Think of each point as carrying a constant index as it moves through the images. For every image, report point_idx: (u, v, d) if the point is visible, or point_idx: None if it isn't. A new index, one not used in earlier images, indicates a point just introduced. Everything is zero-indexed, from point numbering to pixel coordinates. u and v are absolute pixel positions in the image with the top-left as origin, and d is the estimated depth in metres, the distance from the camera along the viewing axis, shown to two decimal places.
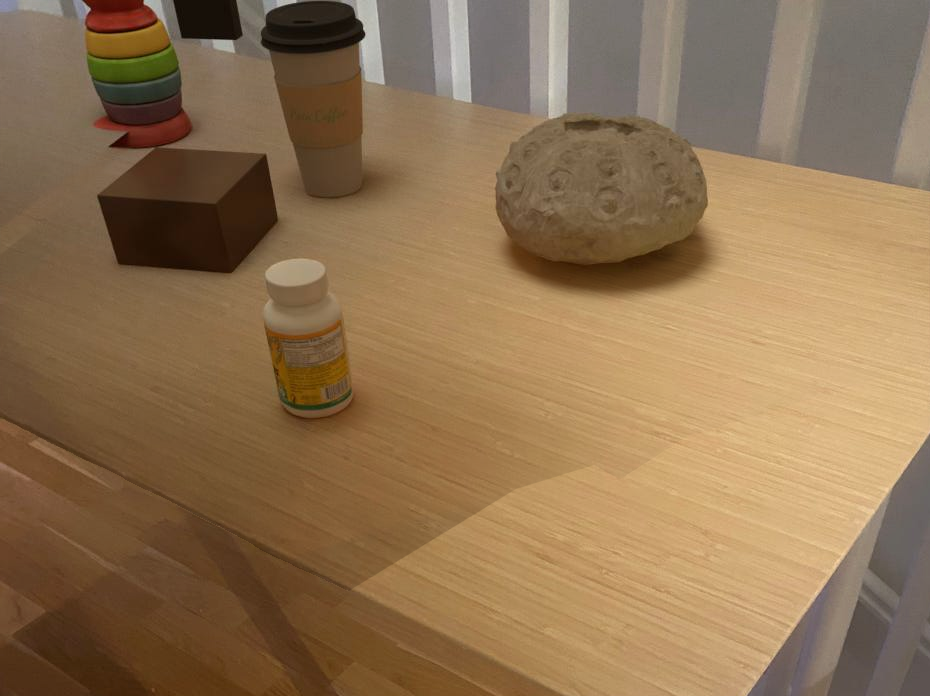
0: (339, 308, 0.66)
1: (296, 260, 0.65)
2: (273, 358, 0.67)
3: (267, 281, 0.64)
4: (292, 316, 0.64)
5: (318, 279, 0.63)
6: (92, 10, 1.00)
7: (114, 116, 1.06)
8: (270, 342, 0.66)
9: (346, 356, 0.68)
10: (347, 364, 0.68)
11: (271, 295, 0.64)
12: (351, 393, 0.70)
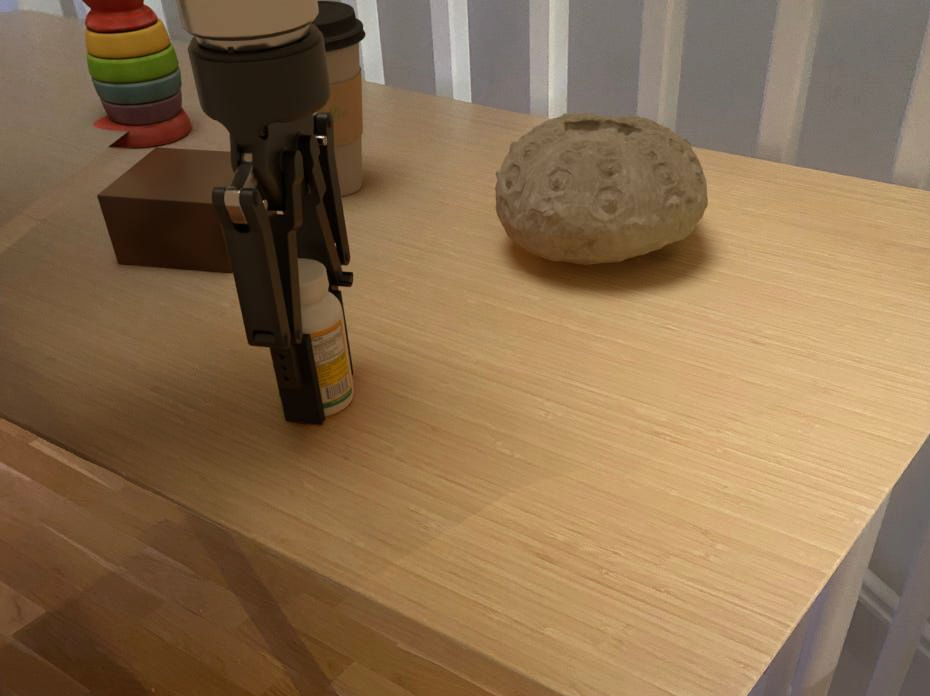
0: (339, 307, 0.66)
1: None
2: None
3: None
4: None
5: (318, 279, 0.63)
6: (92, 10, 1.00)
7: (114, 116, 1.06)
8: None
9: (346, 356, 0.68)
10: (347, 364, 0.68)
11: None
12: (351, 393, 0.70)
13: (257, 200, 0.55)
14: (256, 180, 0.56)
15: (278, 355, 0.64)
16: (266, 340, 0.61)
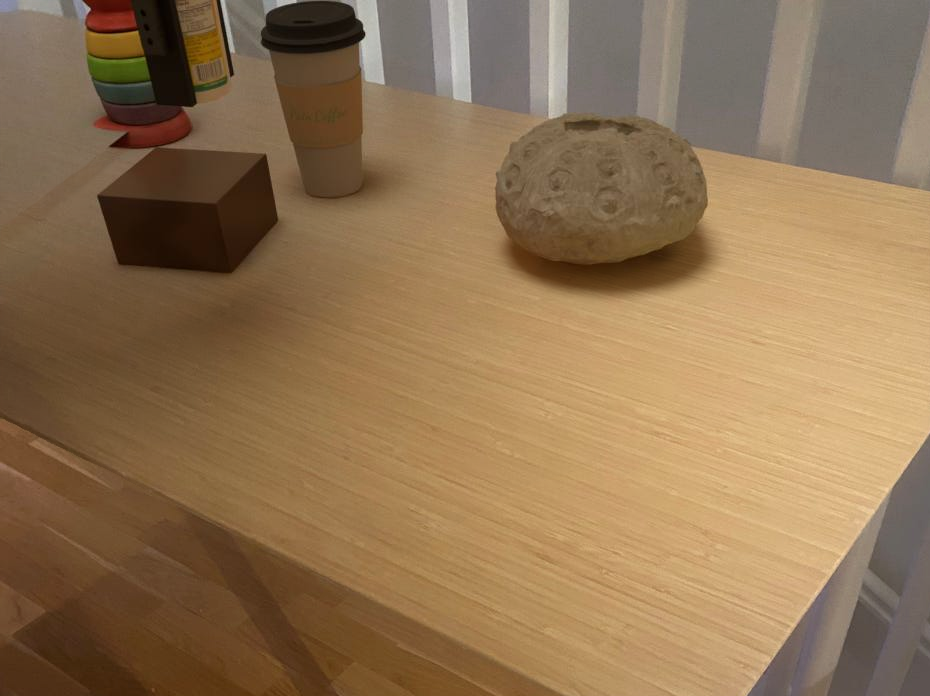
0: None
1: None
2: None
3: None
4: None
5: None
6: (92, 10, 1.00)
7: (114, 116, 1.06)
8: None
9: (218, 35, 0.67)
10: (221, 46, 0.67)
11: None
12: (227, 83, 0.69)
13: None
14: None
15: (139, 11, 0.62)
16: None
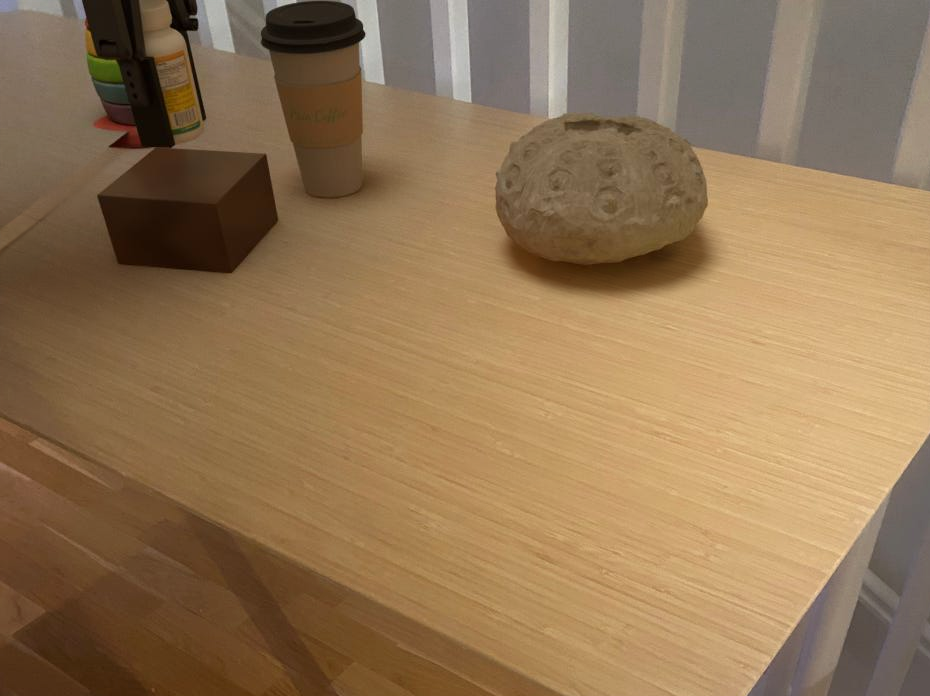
0: (181, 40, 0.78)
1: None
2: None
3: None
4: None
5: (159, 8, 0.76)
6: None
7: (114, 116, 1.06)
8: None
9: (192, 88, 0.80)
10: (194, 96, 0.81)
11: None
12: (200, 126, 0.83)
13: None
14: None
15: (126, 72, 0.76)
16: (110, 49, 0.73)
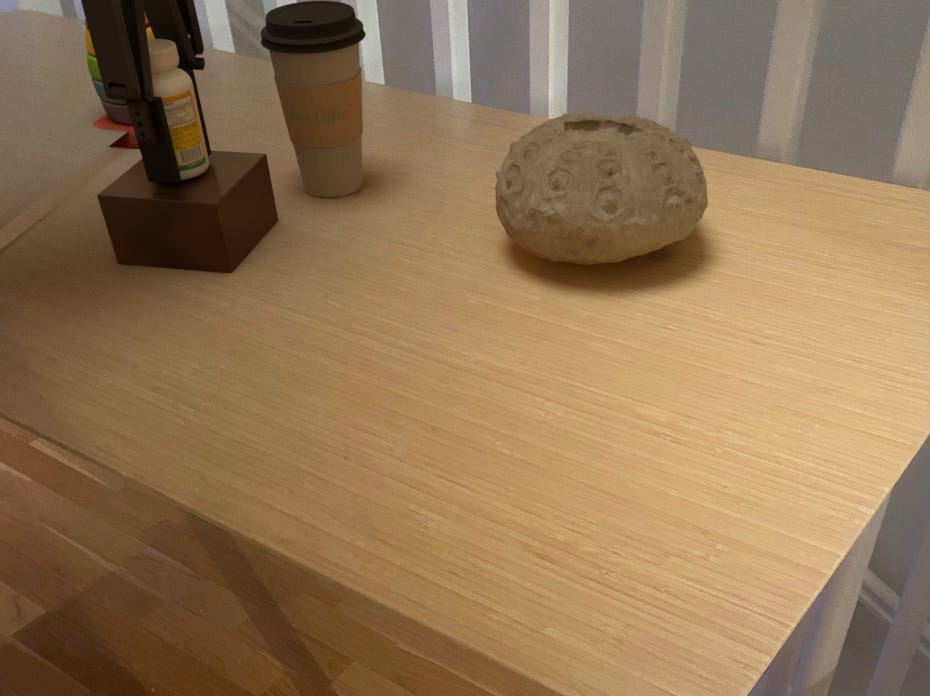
0: (188, 80, 0.80)
1: (153, 39, 0.80)
2: None
3: None
4: None
5: (167, 50, 0.78)
6: None
7: (114, 116, 1.06)
8: None
9: (198, 126, 0.83)
10: (200, 134, 0.83)
11: None
12: (205, 162, 0.85)
13: None
14: None
15: (134, 112, 0.78)
16: (119, 91, 0.76)
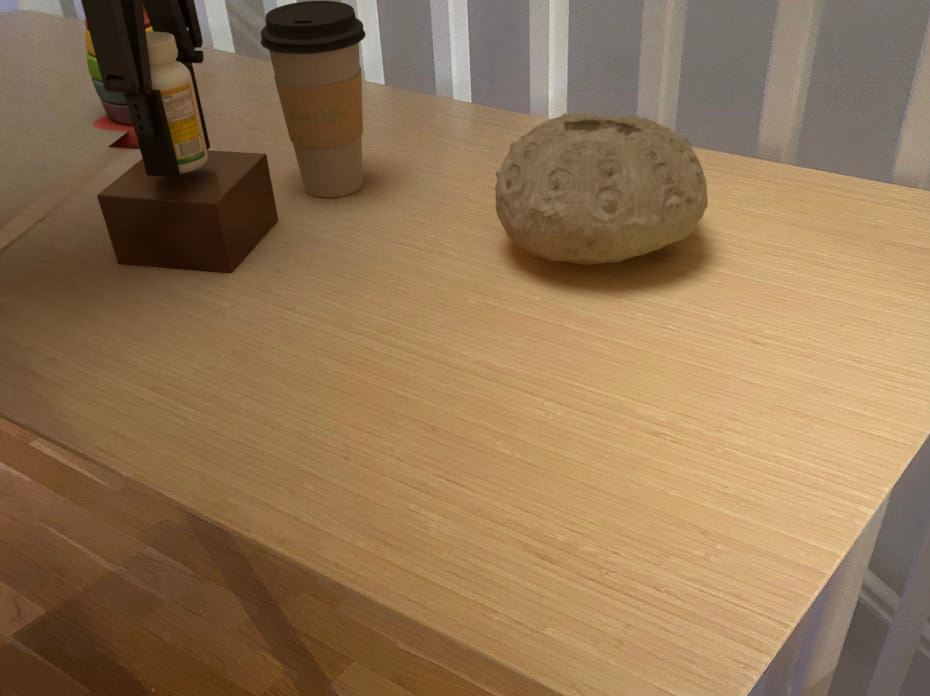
0: (187, 73, 0.80)
1: (151, 32, 0.80)
2: None
3: None
4: None
5: (165, 43, 0.78)
6: None
7: (114, 116, 1.06)
8: None
9: (196, 119, 0.82)
10: (198, 127, 0.83)
11: None
12: (204, 156, 0.84)
13: None
14: None
15: (132, 105, 0.78)
16: (118, 84, 0.75)
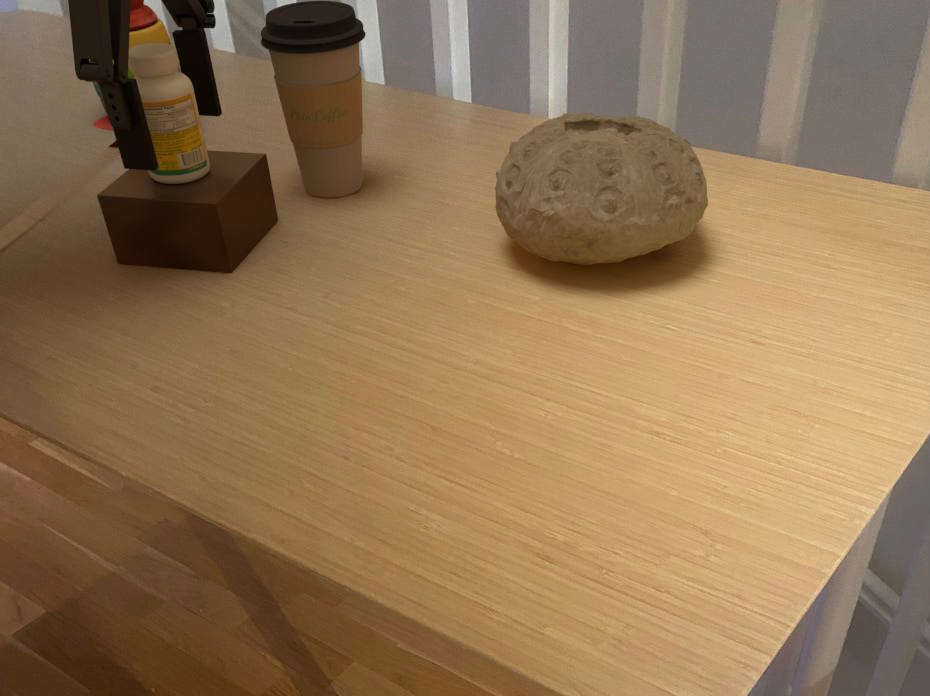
0: (189, 83, 0.81)
1: (153, 43, 0.80)
2: None
3: None
4: (148, 86, 0.79)
5: (167, 54, 0.78)
6: None
7: None
8: None
9: (198, 129, 0.83)
10: (200, 137, 0.83)
11: (131, 68, 0.79)
12: (206, 165, 0.85)
13: None
14: None
15: (107, 94, 0.74)
16: (90, 69, 0.72)
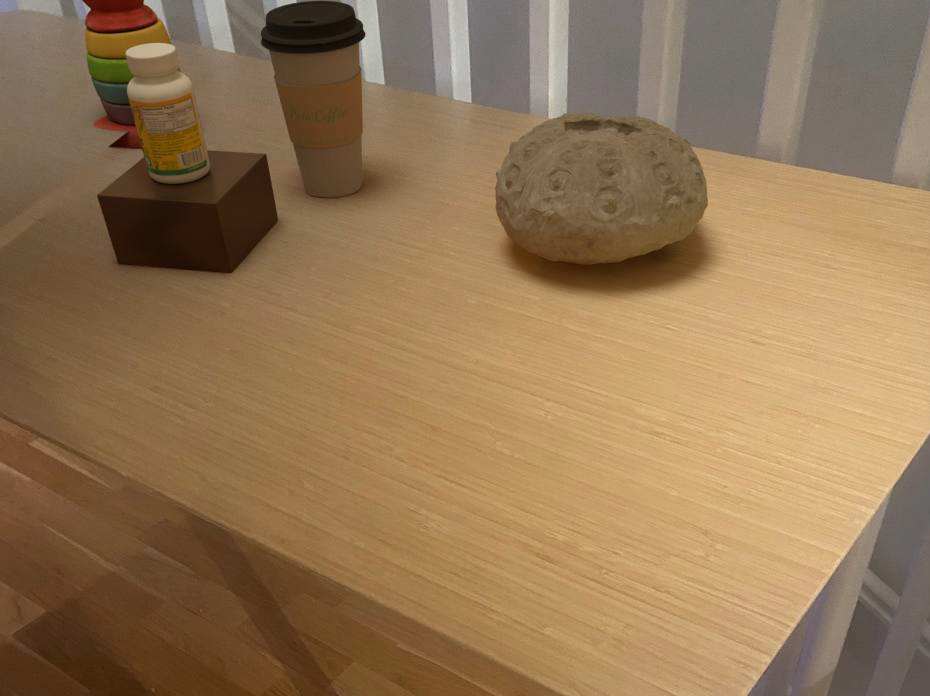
0: (189, 83, 0.81)
1: (153, 43, 0.80)
2: (137, 128, 0.82)
3: (126, 56, 0.78)
4: (148, 86, 0.79)
5: (167, 53, 0.78)
6: (92, 10, 1.00)
7: (114, 116, 1.06)
8: (133, 113, 0.81)
9: (198, 129, 0.83)
10: (200, 137, 0.83)
11: (130, 68, 0.79)
12: (206, 165, 0.85)
13: None
14: None
15: None
16: None
